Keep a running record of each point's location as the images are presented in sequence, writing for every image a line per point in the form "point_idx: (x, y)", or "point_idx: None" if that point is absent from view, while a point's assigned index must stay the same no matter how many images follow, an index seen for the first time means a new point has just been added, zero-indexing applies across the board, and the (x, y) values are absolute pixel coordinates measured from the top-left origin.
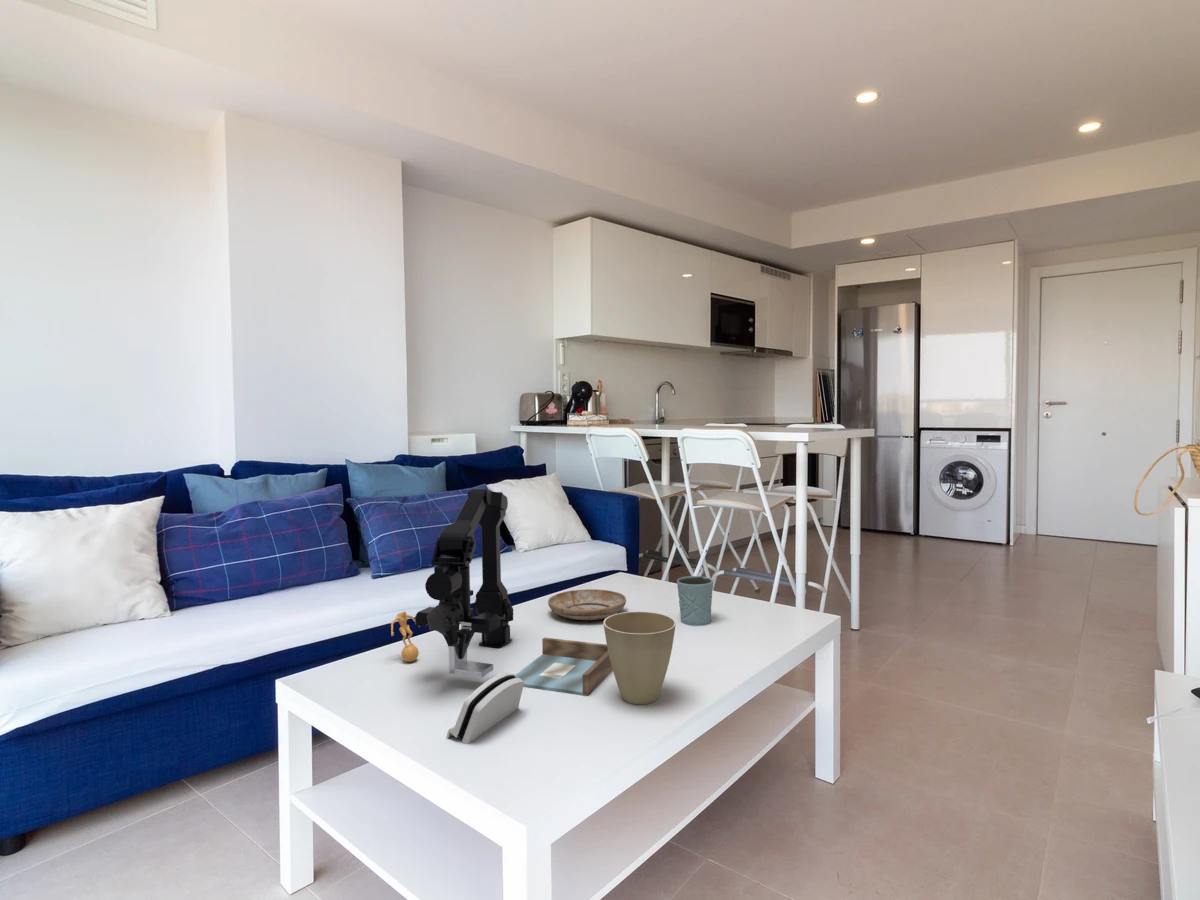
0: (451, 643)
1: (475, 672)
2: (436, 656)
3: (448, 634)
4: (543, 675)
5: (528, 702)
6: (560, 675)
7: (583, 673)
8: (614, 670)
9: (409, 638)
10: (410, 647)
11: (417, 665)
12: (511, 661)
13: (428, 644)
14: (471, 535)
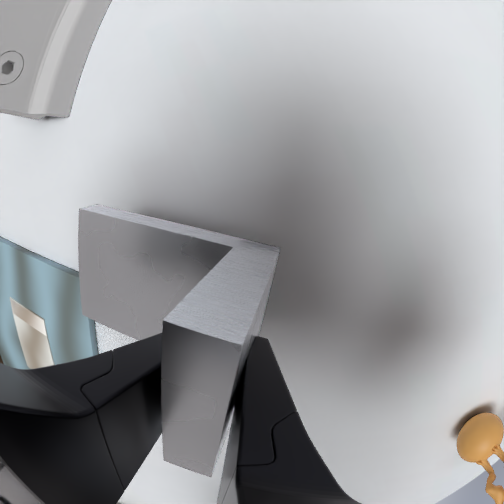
0: (242, 409)
1: (107, 213)
2: (403, 459)
3: (235, 496)
4: (37, 319)
5: (19, 157)
6: (17, 315)
7: (2, 324)
8: None
9: (490, 474)
10: (487, 448)
11: (455, 405)
12: None
13: (423, 491)
14: None
